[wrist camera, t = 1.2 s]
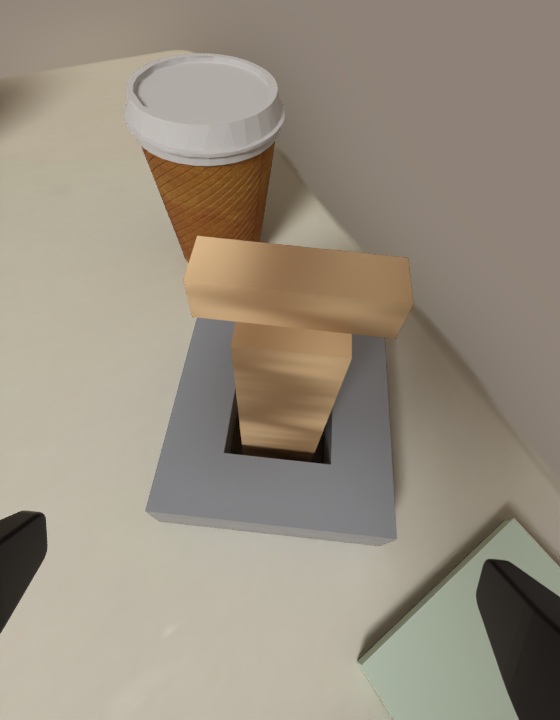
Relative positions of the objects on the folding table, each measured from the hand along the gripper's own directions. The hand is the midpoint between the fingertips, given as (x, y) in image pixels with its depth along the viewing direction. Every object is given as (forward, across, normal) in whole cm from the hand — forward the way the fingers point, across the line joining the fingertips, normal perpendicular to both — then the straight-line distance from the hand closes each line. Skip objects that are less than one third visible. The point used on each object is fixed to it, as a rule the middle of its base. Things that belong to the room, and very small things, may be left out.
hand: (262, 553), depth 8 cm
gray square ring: (+15, 0, +4) cm, 16 cm away
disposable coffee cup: (+27, +6, -6) cm, 28 cm away
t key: (+16, 0, +4) cm, 16 cm away
